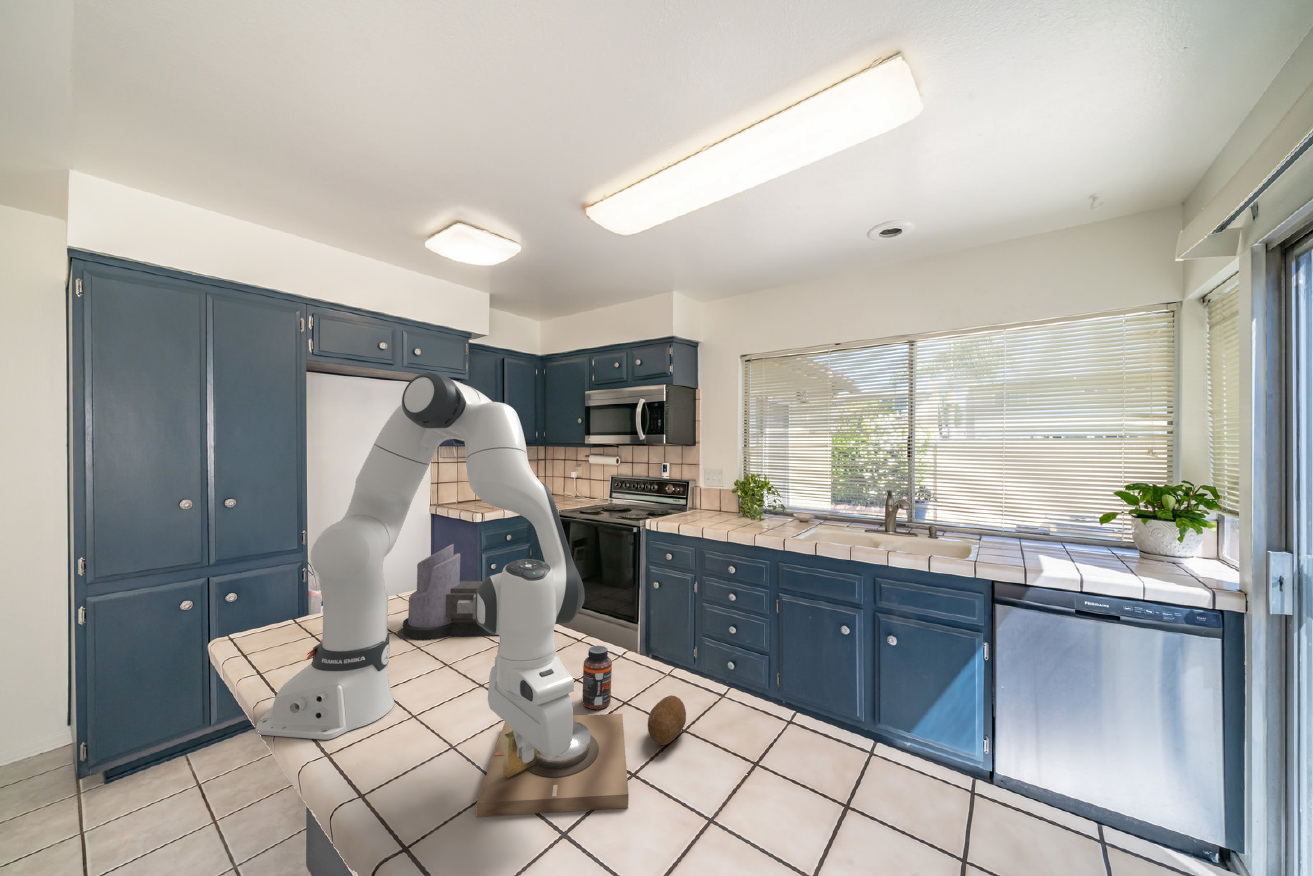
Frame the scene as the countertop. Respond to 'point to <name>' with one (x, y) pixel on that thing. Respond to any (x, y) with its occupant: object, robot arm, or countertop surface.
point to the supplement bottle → (597, 678)
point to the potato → (666, 720)
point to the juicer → (442, 601)
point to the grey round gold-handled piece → (568, 758)
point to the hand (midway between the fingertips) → (525, 758)
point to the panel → (562, 777)
